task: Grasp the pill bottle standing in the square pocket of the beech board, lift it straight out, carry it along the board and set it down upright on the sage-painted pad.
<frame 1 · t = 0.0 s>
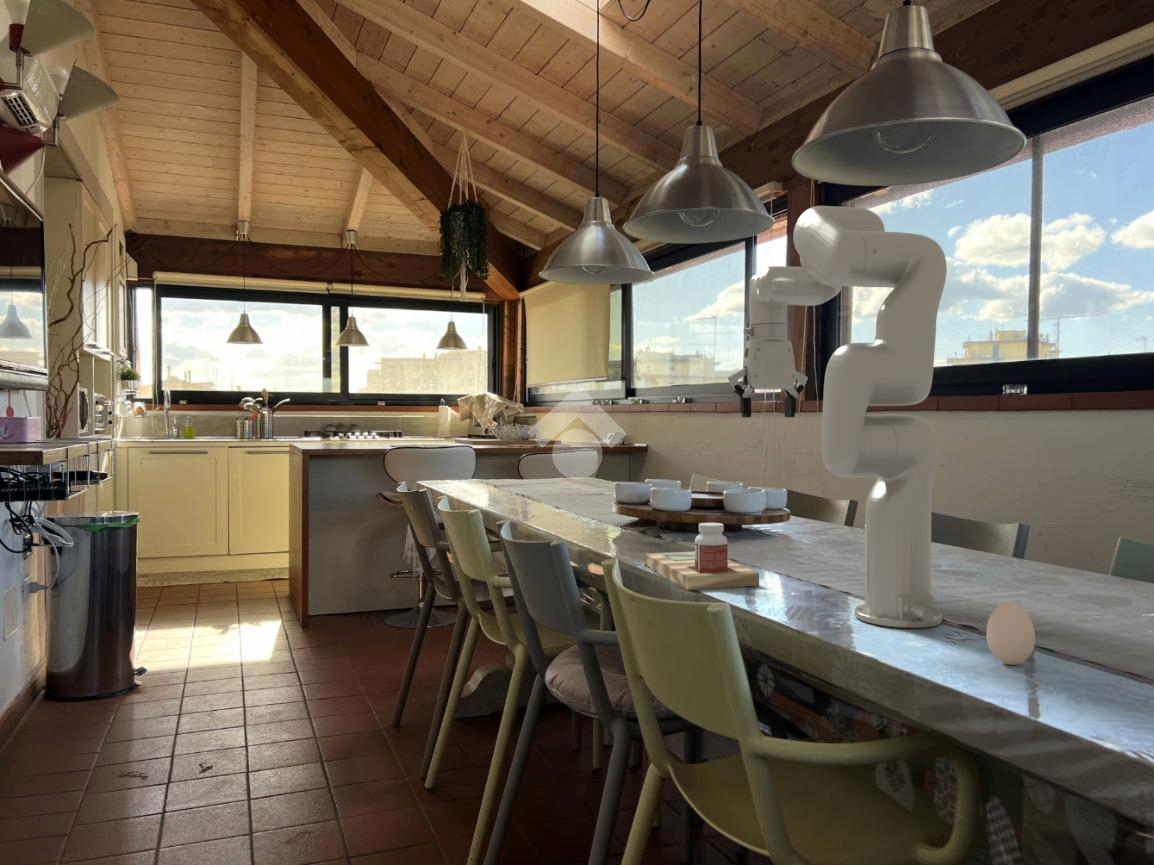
hand: (768, 417, 172), 31 cm above the table, fingers open, 9 cm apart
egg: (1010, 665, 106), on the table
pill bottle: (711, 583, 158), resting in pocket board
pocket board: (697, 575, 165), on the table
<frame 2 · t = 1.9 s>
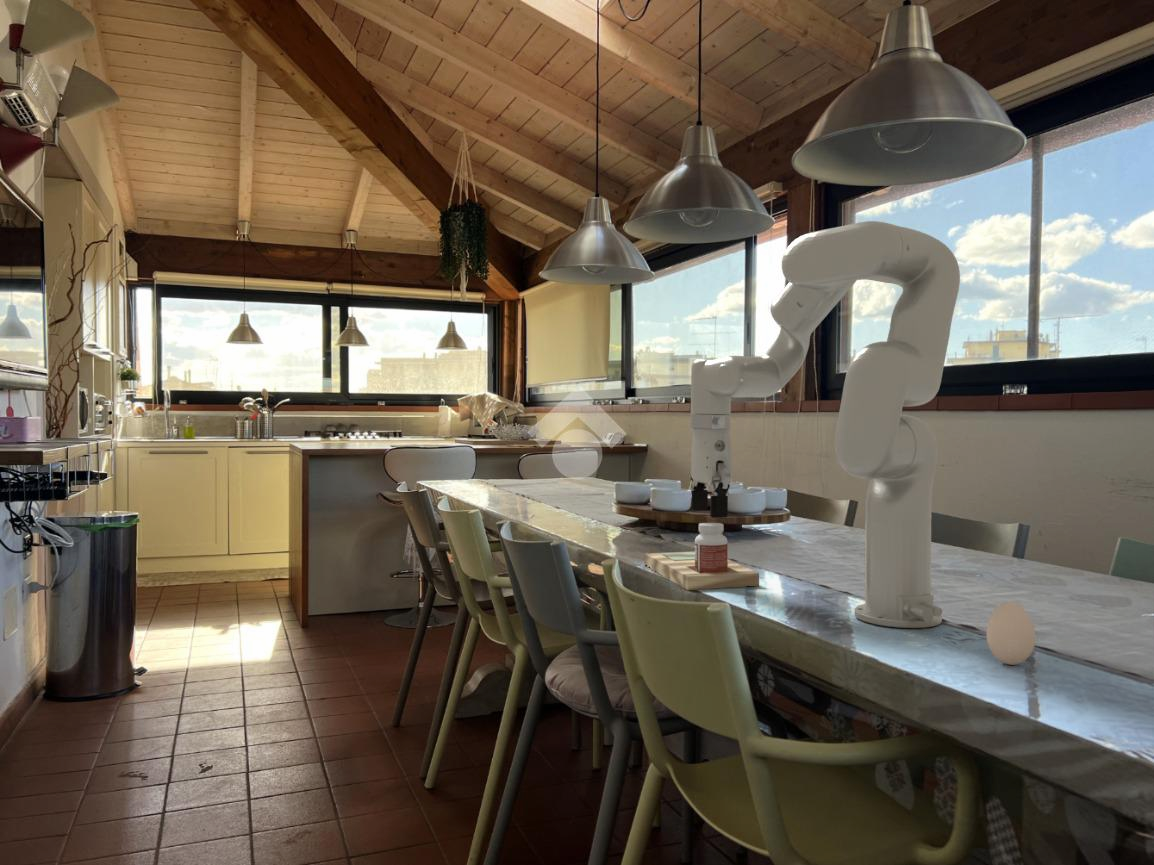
hand: (708, 513, 159), 13 cm above the table, fingers open, 9 cm apart
nothing on the table moved.
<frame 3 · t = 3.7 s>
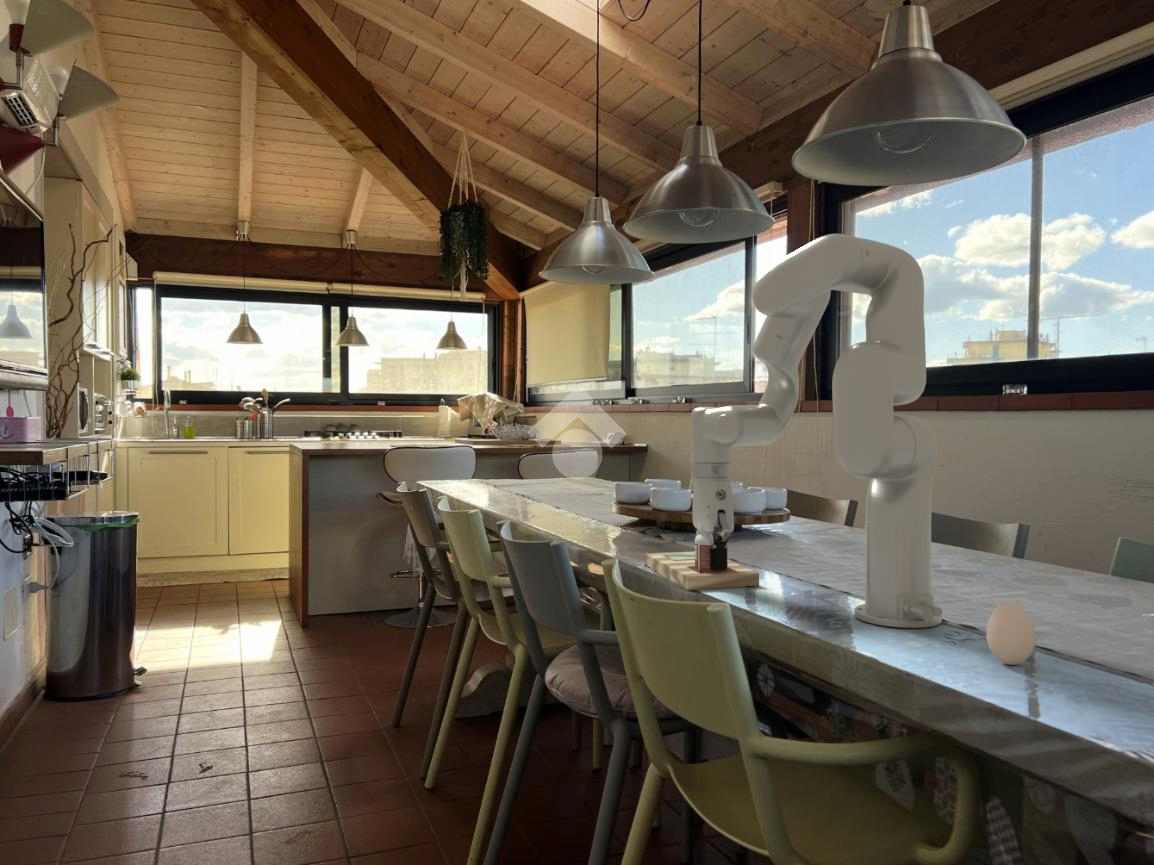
hand: (711, 565, 158), 3 cm above the table, fingers closed on pill bottle, 6 cm apart
pill bottle: (711, 583, 158), resting in pocket board, touching gripper
everything else where it was.
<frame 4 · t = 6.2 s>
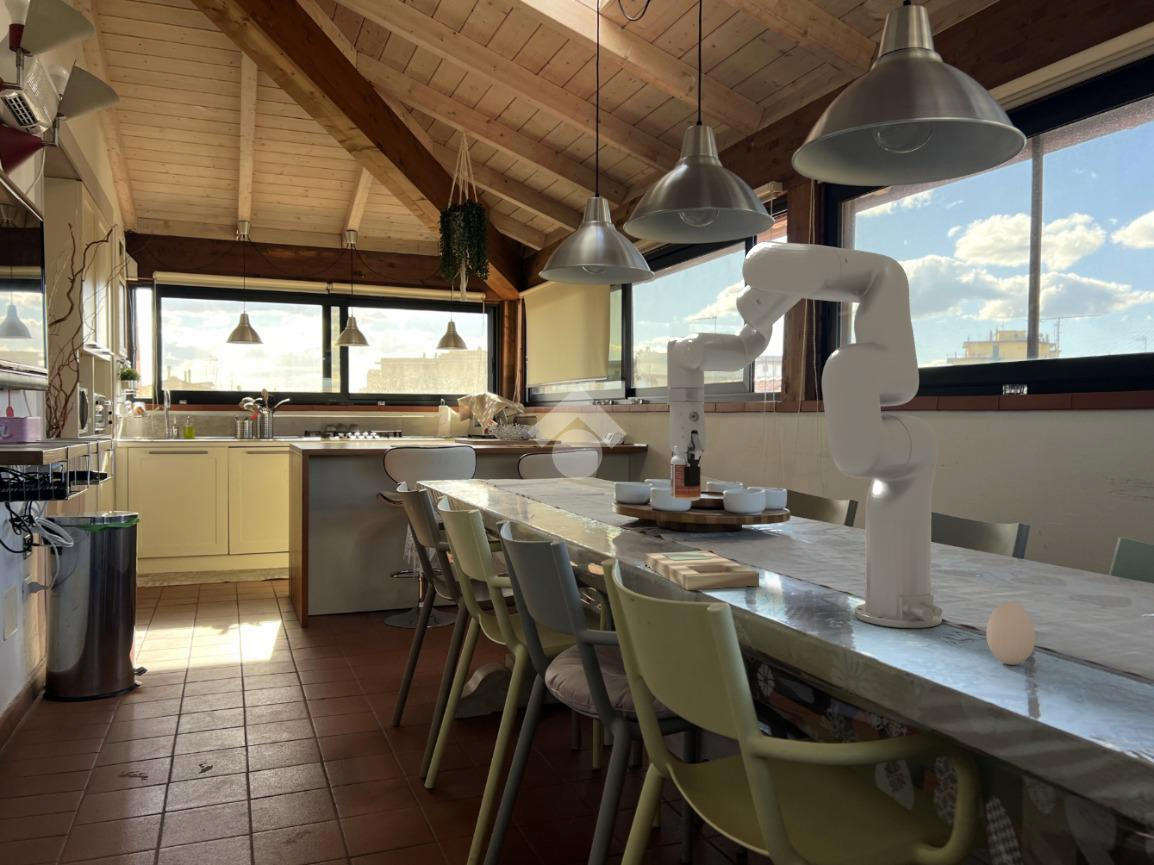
hand: (685, 484, 172), 18 cm above the table, fingers closed on pill bottle, 6 cm apart
pill bottle: (685, 500, 172), point 14 cm above the table, touching gripper
everything else where it was.
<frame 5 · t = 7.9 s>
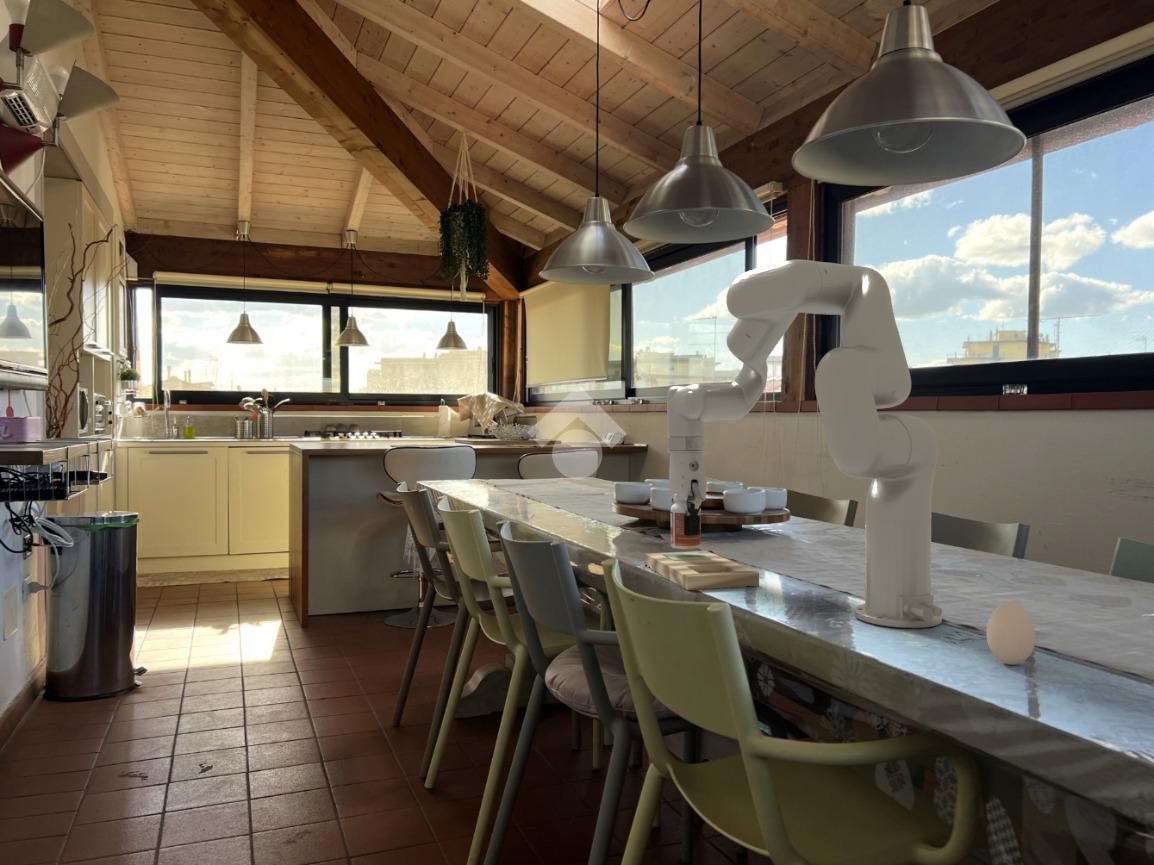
hand: (685, 531, 172), 8 cm above the table, fingers closed on pill bottle, 6 cm apart
pill bottle: (685, 548, 172), point 4 cm above the table, touching gripper
everything else where it was.
when the fingers open (7 cm above the table, at t = 9.0 s): pill bottle stays where it is, resting on pocket board.
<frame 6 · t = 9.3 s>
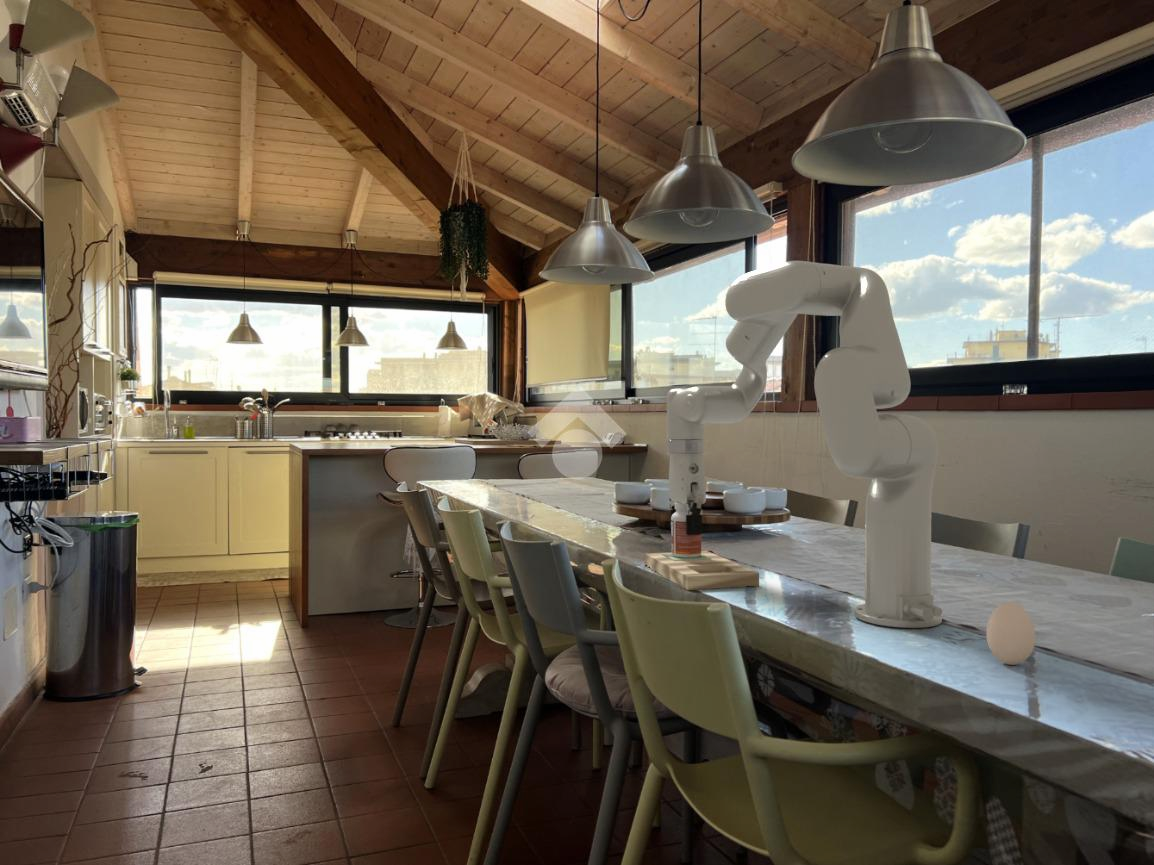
hand: (685, 531, 172), 8 cm above the table, fingers open, 9 cm apart
pill bottle: (686, 556, 172), point 3 cm above the table, touching pocket board
everything else where it was.
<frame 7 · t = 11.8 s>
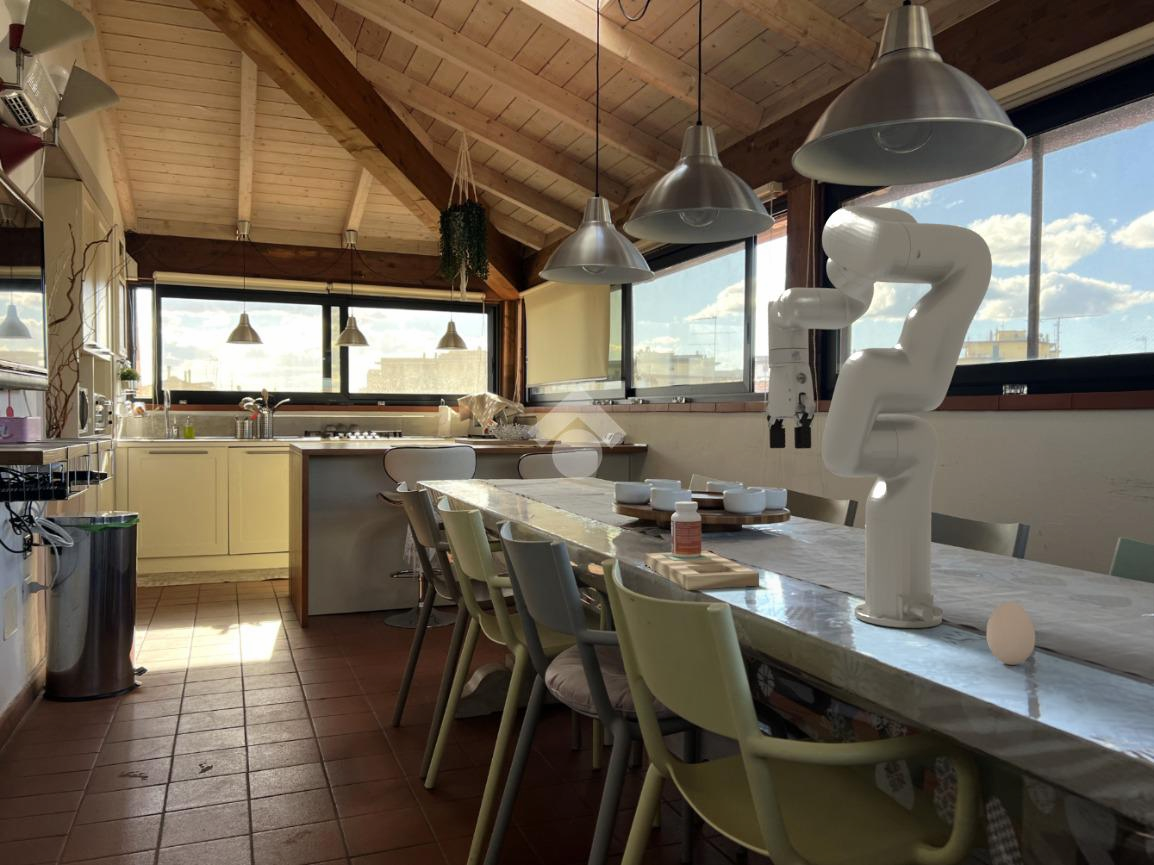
hand: (789, 448, 161), 25 cm above the table, fingers open, 9 cm apart
nothing on the table moved.
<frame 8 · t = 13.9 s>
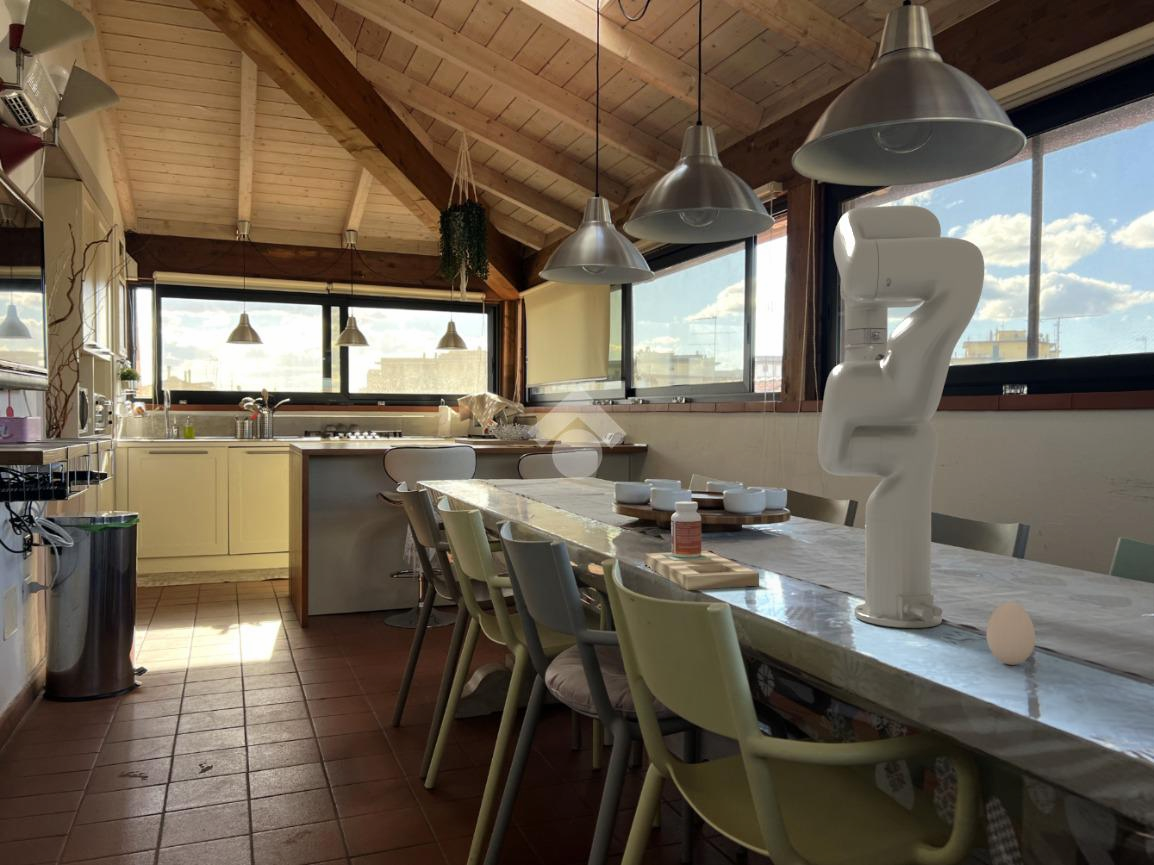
hand: (865, 432, 155), 28 cm above the table, fingers open, 9 cm apart
nothing on the table moved.
at the end: pill bottle 0.3 cm from the target spot on the pocket board, point 2.5 cm above the pocket board's base; pill bottle tilted 0°; the gripper is holding nothing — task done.
